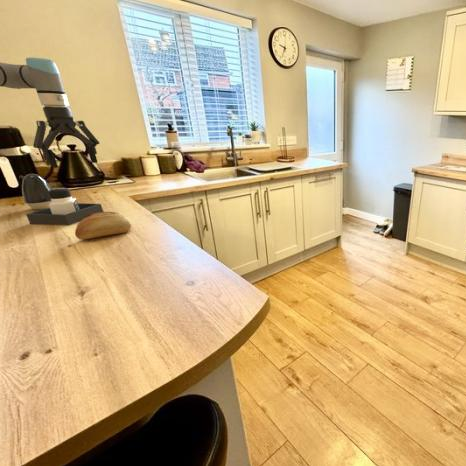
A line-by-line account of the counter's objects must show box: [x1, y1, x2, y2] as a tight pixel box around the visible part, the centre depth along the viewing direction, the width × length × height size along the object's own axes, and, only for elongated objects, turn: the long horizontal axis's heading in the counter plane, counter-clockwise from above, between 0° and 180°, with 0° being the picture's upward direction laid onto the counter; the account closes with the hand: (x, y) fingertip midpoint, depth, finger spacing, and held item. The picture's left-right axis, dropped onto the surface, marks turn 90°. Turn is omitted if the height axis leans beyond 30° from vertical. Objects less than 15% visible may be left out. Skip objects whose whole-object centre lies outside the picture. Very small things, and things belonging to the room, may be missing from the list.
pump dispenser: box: [19, 173, 53, 211], centre depth 126 cm, size 10×10×15 cm
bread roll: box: [74, 211, 132, 240], centre depth 99 cm, size 10×15×8 cm, turn 137°
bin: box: [25, 202, 104, 226], centre depth 116 cm, size 16×16×4 cm
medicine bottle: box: [48, 187, 80, 215], centre depth 114 cm, size 7×7×12 cm
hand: (75, 165), depth 114 cm, fingers open, 13 cm apart
